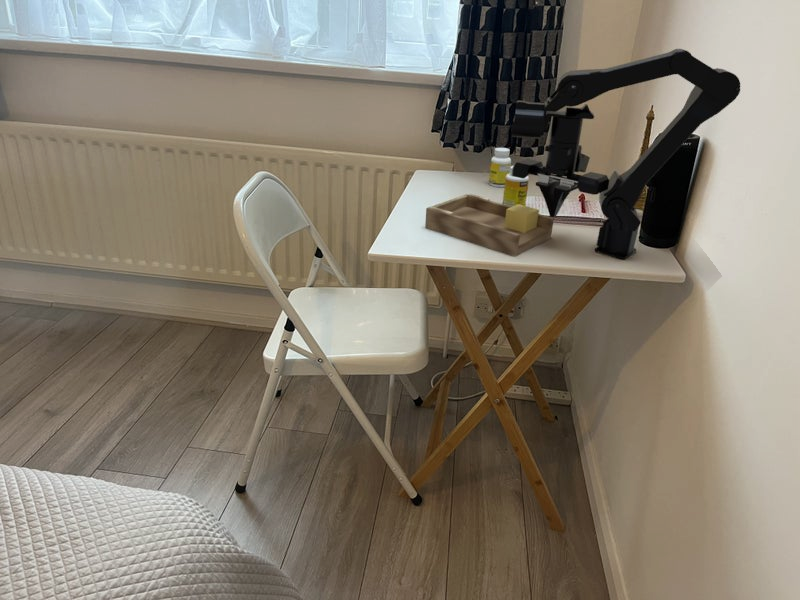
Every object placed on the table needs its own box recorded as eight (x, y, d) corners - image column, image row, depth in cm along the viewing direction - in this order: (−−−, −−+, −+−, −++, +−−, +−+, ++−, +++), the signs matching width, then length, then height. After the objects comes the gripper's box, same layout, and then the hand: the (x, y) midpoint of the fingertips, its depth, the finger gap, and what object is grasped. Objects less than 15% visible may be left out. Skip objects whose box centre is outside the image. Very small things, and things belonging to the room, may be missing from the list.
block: (536, 227, 131) (539, 209, 129) (524, 232, 128) (527, 214, 126) (516, 221, 134) (518, 204, 132) (504, 226, 131) (506, 209, 129)
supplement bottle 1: (486, 182, 169) (489, 146, 165) (504, 181, 170) (508, 146, 165) (492, 187, 164) (495, 151, 160) (511, 187, 165) (515, 151, 161)
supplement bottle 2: (517, 213, 145) (522, 171, 141) (497, 208, 149) (502, 167, 144) (529, 208, 149) (534, 167, 144) (510, 203, 152) (514, 163, 148)
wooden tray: (550, 237, 131) (554, 216, 129) (514, 256, 121) (517, 233, 119) (464, 212, 145) (466, 192, 142) (425, 227, 134) (426, 206, 132)
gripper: (627, 142, 118) (612, 218, 125) (542, 127, 129) (533, 198, 136) (603, 151, 111) (588, 231, 118) (514, 135, 121) (506, 209, 128)
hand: (553, 216), depth 125 cm, fingers closed
